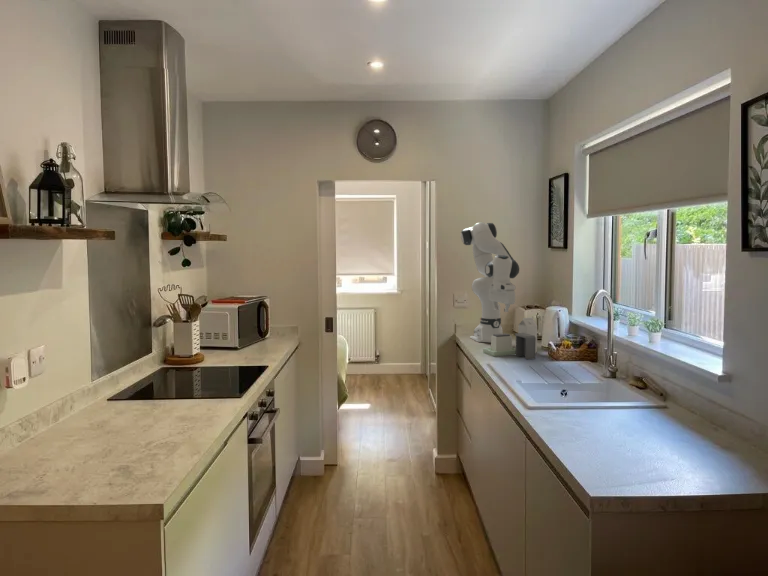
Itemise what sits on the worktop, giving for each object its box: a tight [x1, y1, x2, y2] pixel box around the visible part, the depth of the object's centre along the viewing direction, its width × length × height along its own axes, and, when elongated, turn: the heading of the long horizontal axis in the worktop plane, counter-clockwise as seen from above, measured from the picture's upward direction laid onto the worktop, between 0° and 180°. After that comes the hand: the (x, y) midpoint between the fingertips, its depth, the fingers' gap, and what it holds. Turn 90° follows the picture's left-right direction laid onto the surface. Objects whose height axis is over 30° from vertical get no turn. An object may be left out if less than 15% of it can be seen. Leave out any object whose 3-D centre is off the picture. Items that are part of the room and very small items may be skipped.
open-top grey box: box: [514, 333, 536, 360], centre depth 288 cm, size 10×6×12 cm, turn 21°
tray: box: [482, 347, 516, 357], centre depth 299 cm, size 11×16×2 cm
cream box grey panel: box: [490, 332, 513, 352], centre depth 298 cm, size 5×10×10 cm, turn 111°
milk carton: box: [518, 316, 538, 354], centre depth 301 cm, size 7×7×19 cm
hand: (501, 310), depth 297 cm, fingers open, 8 cm apart
